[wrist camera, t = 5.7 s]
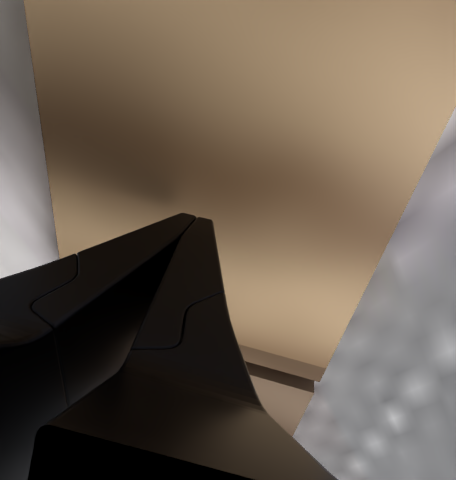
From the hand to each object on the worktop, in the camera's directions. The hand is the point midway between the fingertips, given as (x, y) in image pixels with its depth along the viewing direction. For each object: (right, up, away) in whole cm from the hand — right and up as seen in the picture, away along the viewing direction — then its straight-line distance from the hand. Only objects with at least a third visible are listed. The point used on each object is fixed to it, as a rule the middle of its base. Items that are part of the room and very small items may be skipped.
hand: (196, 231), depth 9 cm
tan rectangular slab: (+1, +2, +2) cm, 3 cm away
